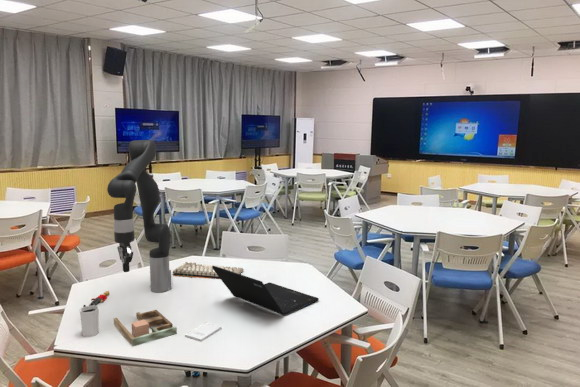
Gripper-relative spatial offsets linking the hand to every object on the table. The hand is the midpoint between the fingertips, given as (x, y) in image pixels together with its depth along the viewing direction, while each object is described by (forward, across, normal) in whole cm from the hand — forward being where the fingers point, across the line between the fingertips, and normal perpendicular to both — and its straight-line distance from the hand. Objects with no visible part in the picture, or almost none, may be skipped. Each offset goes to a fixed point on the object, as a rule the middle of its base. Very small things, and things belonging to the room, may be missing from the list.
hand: (126, 271), depth 178 cm
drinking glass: (+22, -1, +15) cm, 27 cm away
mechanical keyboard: (+23, +38, -56) cm, 72 cm away
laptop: (+23, -17, -57) cm, 64 cm away
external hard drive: (+23, -27, -20) cm, 41 cm away
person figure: (+22, +30, +4) cm, 38 cm away
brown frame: (+22, -10, -3) cm, 24 cm away
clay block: (+22, -14, 0) cm, 26 cm away
